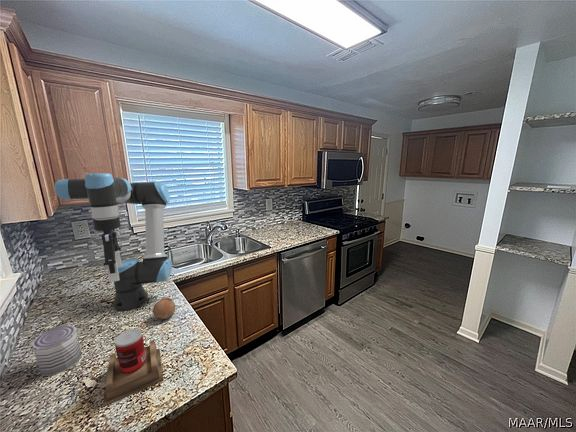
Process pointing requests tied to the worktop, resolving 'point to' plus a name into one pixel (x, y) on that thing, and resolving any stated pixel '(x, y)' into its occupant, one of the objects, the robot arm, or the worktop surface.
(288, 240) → the worktop surface
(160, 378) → the brown square tray
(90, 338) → the worktop surface
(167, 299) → the onion
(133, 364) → the canned food
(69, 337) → the can
